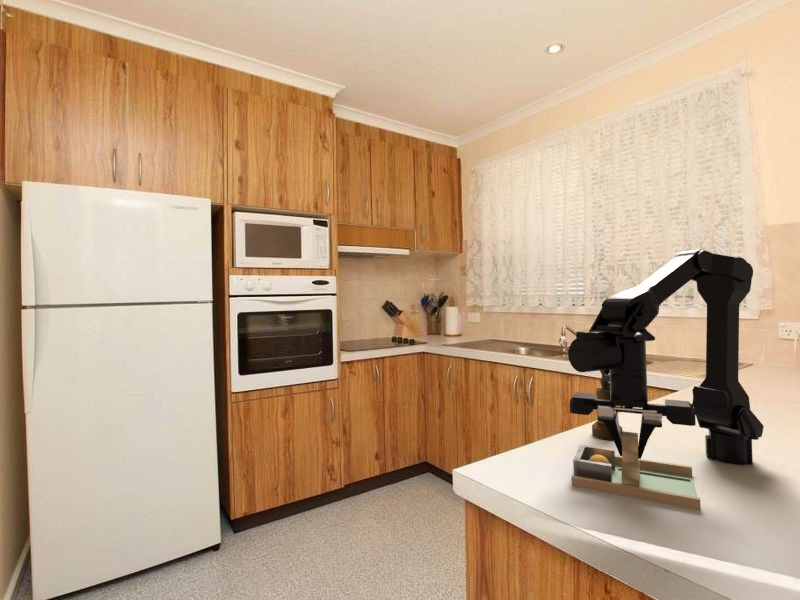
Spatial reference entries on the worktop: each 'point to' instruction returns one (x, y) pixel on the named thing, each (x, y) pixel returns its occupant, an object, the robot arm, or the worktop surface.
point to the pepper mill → (598, 427)
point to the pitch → (650, 483)
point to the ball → (599, 459)
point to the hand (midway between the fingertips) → (630, 456)
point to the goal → (594, 463)
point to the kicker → (630, 459)
